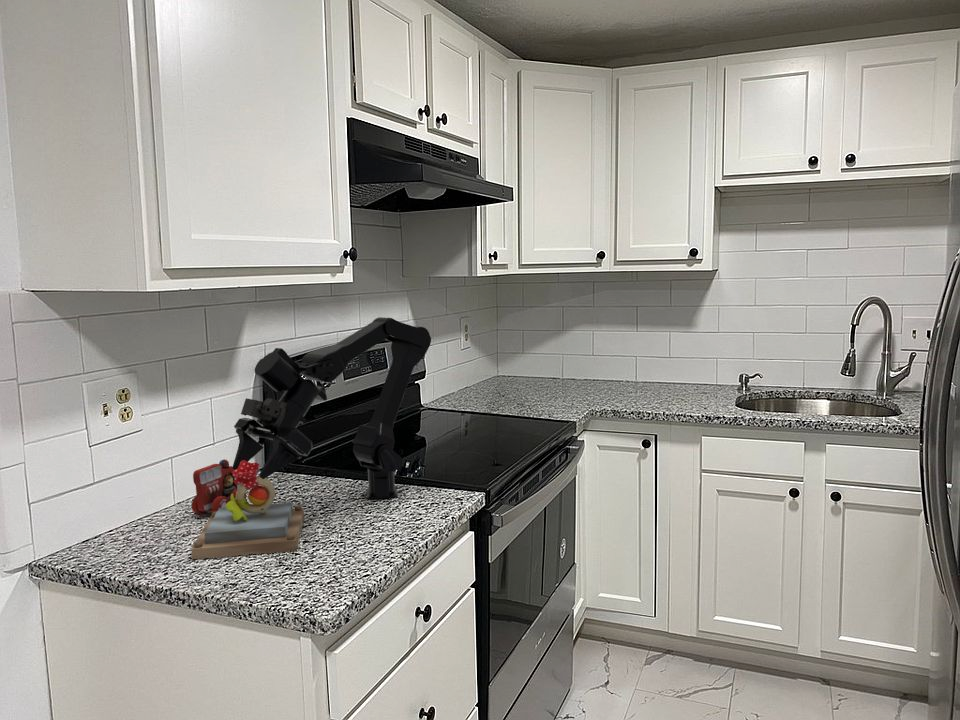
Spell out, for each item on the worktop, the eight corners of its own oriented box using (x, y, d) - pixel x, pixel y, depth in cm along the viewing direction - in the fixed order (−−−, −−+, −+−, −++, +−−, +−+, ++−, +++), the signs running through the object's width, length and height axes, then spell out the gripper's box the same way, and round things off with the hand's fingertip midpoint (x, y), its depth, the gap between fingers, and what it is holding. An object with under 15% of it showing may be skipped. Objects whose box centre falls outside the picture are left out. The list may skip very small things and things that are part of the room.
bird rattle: (258, 519, 145) (213, 510, 140) (278, 465, 146) (233, 454, 141) (268, 529, 139) (221, 519, 134) (288, 472, 140) (242, 461, 135)
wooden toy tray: (212, 524, 148) (210, 505, 148) (304, 517, 151) (303, 498, 150) (192, 560, 130) (190, 538, 130) (296, 550, 133) (295, 529, 133)
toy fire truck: (253, 503, 161) (250, 456, 160) (212, 522, 150) (208, 472, 149) (228, 499, 164) (224, 454, 163) (186, 518, 153) (182, 469, 151)
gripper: (239, 377, 147) (191, 443, 140) (294, 385, 135) (245, 458, 128) (276, 409, 154) (232, 473, 147) (332, 420, 141) (287, 491, 135)
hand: (247, 473), depth 139 cm, fingers open, 9 cm apart
